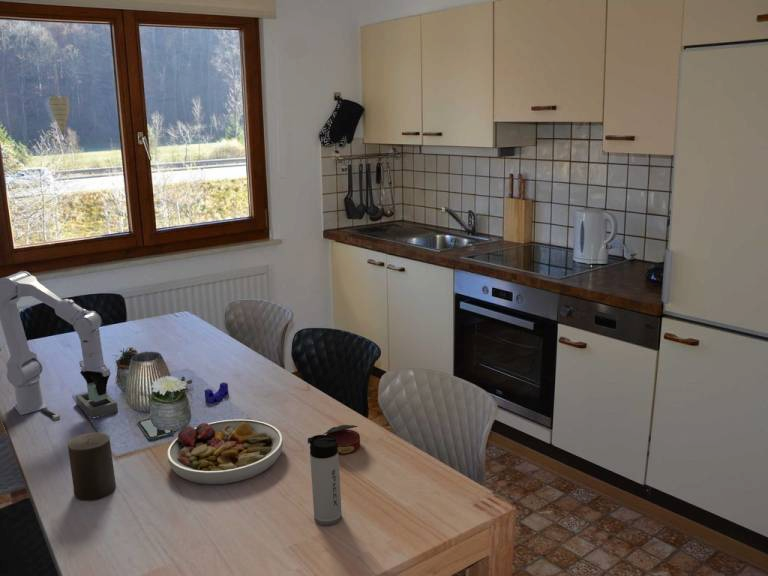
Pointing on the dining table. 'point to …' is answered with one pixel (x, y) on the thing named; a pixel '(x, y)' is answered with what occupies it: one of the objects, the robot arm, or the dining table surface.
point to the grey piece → (96, 405)
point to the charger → (95, 393)
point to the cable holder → (216, 394)
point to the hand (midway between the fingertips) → (98, 392)
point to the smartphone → (153, 430)
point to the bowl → (225, 451)
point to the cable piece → (51, 414)
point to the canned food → (345, 439)
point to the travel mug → (325, 479)
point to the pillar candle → (91, 466)
